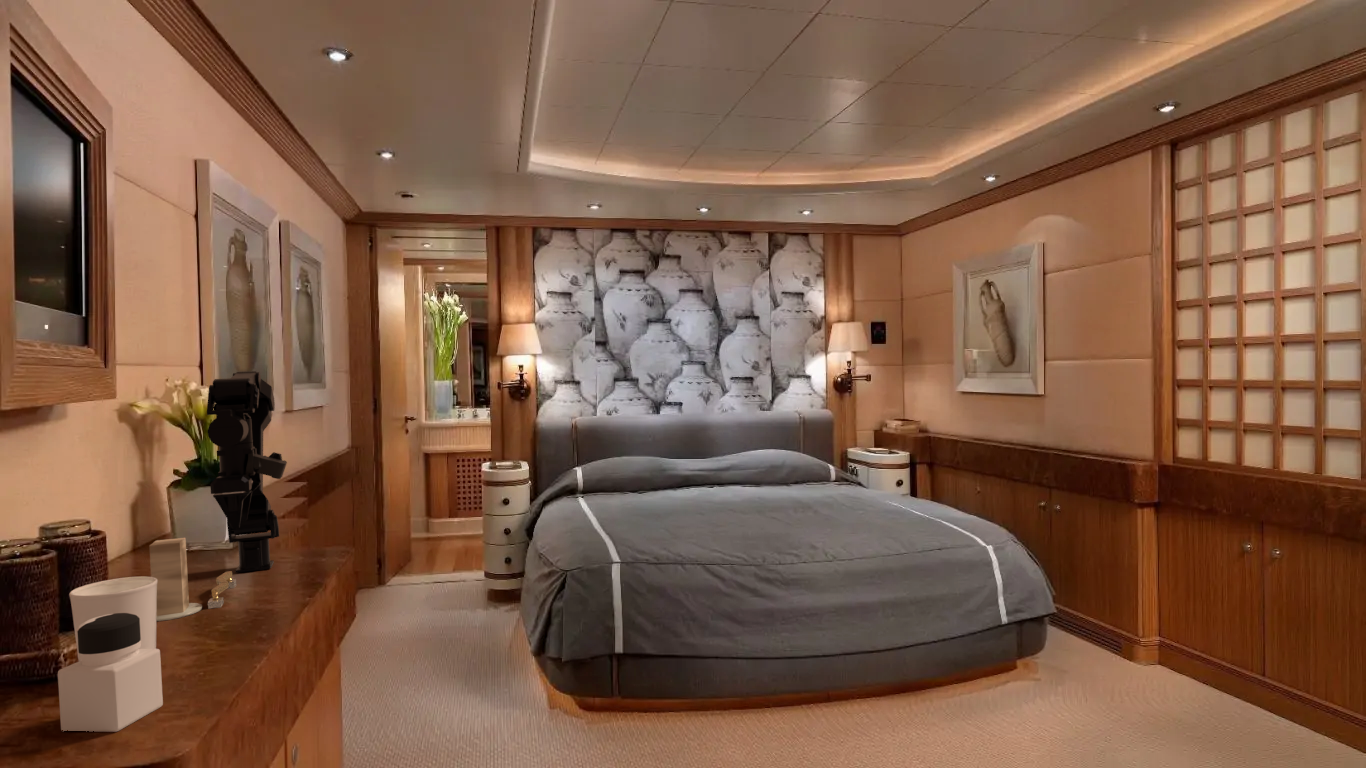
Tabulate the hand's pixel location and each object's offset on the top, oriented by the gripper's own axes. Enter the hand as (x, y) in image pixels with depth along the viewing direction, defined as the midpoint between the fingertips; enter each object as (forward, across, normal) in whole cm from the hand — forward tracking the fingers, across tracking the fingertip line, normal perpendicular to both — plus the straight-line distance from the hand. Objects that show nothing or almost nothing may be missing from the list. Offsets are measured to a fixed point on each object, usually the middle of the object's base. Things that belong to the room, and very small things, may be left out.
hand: (240, 524), depth 153 cm
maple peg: (+12, -14, +9) cm, 20 cm away
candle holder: (+12, -44, +9) cm, 47 cm away
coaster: (+12, -14, +9) cm, 21 cm away
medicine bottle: (+12, -62, +5) cm, 63 cm away
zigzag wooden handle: (+12, -6, +2) cm, 14 cm away
